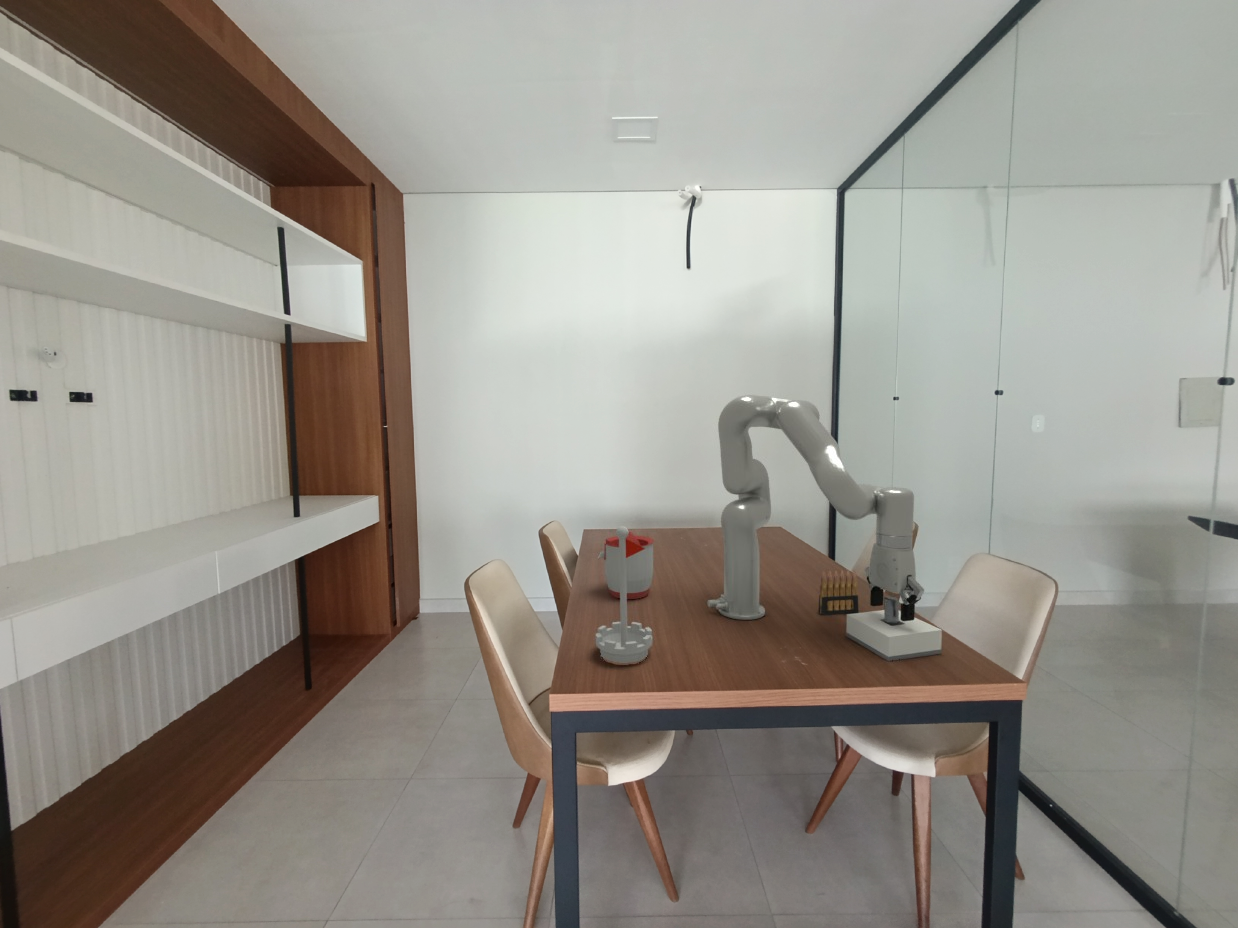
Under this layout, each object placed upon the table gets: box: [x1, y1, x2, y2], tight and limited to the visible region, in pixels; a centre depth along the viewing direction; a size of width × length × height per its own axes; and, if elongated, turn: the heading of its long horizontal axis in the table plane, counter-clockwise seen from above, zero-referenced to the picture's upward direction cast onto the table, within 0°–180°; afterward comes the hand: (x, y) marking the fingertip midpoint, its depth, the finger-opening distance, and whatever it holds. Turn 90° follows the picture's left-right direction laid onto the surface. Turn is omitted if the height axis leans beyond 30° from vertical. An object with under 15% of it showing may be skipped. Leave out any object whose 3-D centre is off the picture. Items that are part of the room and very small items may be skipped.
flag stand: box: [595, 525, 653, 663], centre depth 119 cm, size 13×13×30 cm
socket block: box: [846, 609, 943, 662], centre depth 123 cm, size 14×14×6 cm
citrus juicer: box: [597, 530, 655, 600], centre depth 162 cm, size 16×17×20 cm
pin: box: [883, 596, 900, 626], centre depth 122 cm, size 3×3×10 cm
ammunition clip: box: [818, 569, 860, 616], centre depth 143 cm, size 11×2×12 cm, turn 96°
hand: (891, 612), depth 122 cm, fingers open, 9 cm apart
